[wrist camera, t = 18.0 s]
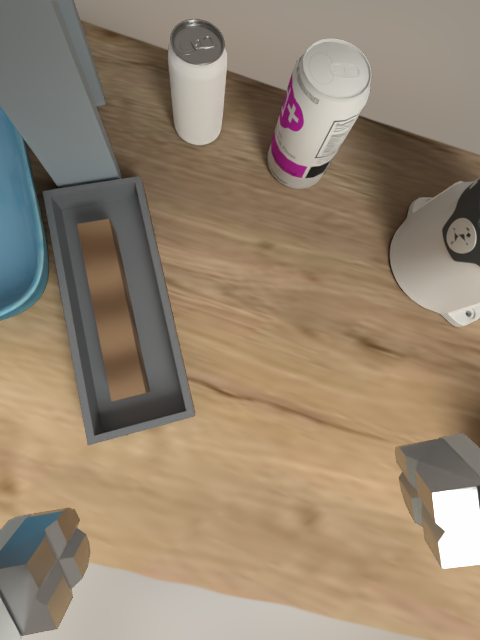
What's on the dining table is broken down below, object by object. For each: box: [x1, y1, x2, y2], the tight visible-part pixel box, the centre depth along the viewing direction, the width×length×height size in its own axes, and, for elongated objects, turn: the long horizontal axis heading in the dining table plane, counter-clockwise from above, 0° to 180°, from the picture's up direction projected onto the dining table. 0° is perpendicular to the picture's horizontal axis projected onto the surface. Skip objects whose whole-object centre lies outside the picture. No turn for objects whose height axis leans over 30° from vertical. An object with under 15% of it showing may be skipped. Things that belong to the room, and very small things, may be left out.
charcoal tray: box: [43, 176, 195, 445], centre depth 39 cm, size 11×28×4 cm, turn 14°
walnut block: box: [77, 219, 150, 401], centre depth 38 cm, size 20×4×4 cm, turn 14°
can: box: [168, 19, 227, 145], centre depth 41 cm, size 6×6×12 cm
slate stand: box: [0, 0, 122, 188], centre depth 30 cm, size 7×16×29 cm, turn 14°
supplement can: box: [267, 38, 372, 189], centre depth 40 cm, size 8×8×15 cm
